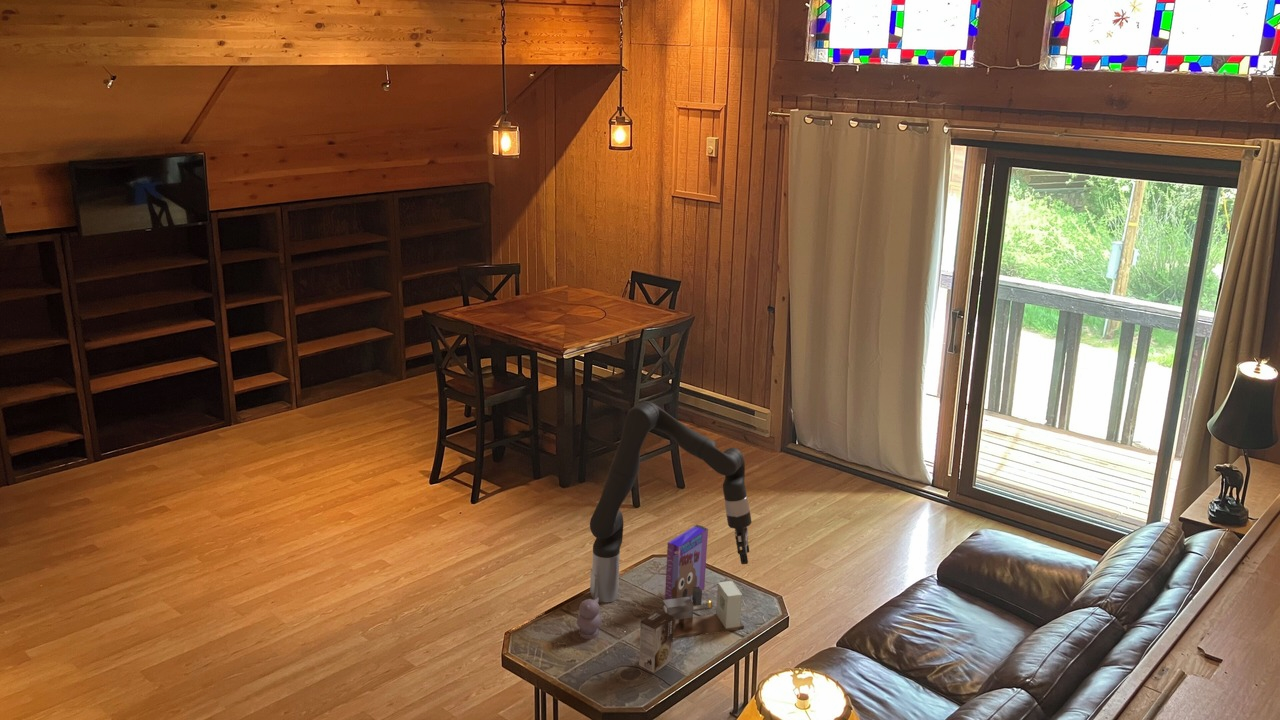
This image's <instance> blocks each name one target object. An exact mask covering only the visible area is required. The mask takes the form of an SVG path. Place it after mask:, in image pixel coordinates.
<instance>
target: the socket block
mask: <svg viewBox="0 0 1280 720" xmlns="http://www.w3.org/2000/svg"><path fill="white" fill-rule="evenodd" d="M716 593H717V594H716V607H715V614H716V615H717V616H718V618H719V619H720V621H721V622H722V624H723V625H724V627H725V628H733V627H740V621H741V617H742V615H741V613H742V602H743V601H742V600H743V594H742V592H741V591H740V590H739V588H738V587H737V585H736V584H735V583H734V582H733V580H729V581H728V580H727V581H721V582H717V592H716Z"/></svg>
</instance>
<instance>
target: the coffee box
mask: <svg viewBox="0 0 1280 720" xmlns="http://www.w3.org/2000/svg"><path fill="white" fill-rule="evenodd" d="M673 621H674V616H672V615H669V614H668V613H666V612H664V611H662V610H661V609H659V608H657V609H656V610H654V612H652V613H650V614H648V615H647V616H646V617H644V618H643V619H641V620H640V632H639V633H640V635H639V659H638V660H639V663H638V664H639V667H642V668H643V669H645V670H647V671H649V672H651V673H653V674H655V673H657V672H659V670H660V669H662V668H663V667H665V666H666V665H668V664H669V663H671V662H672V661H673V643H674V642H673V641H674V639H673Z"/></svg>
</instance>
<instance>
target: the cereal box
mask: <svg viewBox="0 0 1280 720" xmlns="http://www.w3.org/2000/svg"><path fill="white" fill-rule="evenodd" d="M708 533H709V528H707V527H705V526H703V525H698V524H696V525H694V526H693V527H691V528H689V529H687V530H685V531H684V532H683V533H681V534H680V535H677V536H676V537H674V538H673V539H671V540H669V541H668V542H667V549H666V550H667V551H666V567H665V569H666V570H665V587H664V588H665V589H664V590H665V592H664V594H665V595H664V600H667V599H675V598H683V597H689V598H690V599H691V600H692V596H693V587H698V586H699V587H700V589H701V590H703V591H705V585H706V569H707V568H706V567H707V566H706V565H707V554H708V553H707V552H708V551H707V550H708V537H709V535H708Z"/></svg>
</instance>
